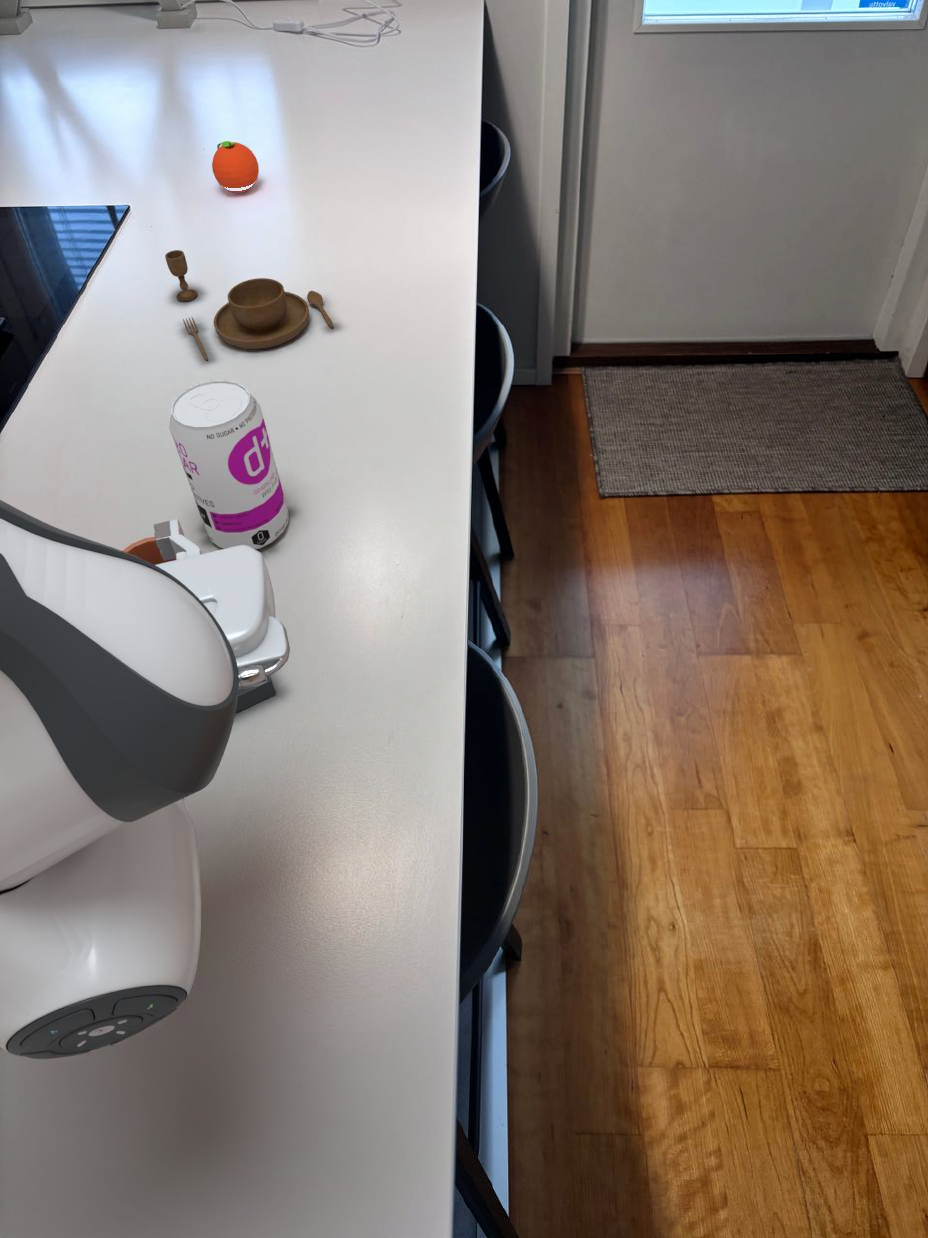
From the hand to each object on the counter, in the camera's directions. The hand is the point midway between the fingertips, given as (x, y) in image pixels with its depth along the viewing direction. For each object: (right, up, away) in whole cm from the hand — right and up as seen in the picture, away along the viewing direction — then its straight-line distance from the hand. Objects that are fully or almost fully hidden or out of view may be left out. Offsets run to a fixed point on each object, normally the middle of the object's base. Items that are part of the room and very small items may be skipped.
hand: (91, 546), depth 58 cm
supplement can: (+1, +5, +38) cm, 38 cm away
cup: (-2, -7, +25) cm, 26 cm away
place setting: (-5, +35, +65) cm, 74 cm away
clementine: (-12, +62, +90) cm, 110 cm away
